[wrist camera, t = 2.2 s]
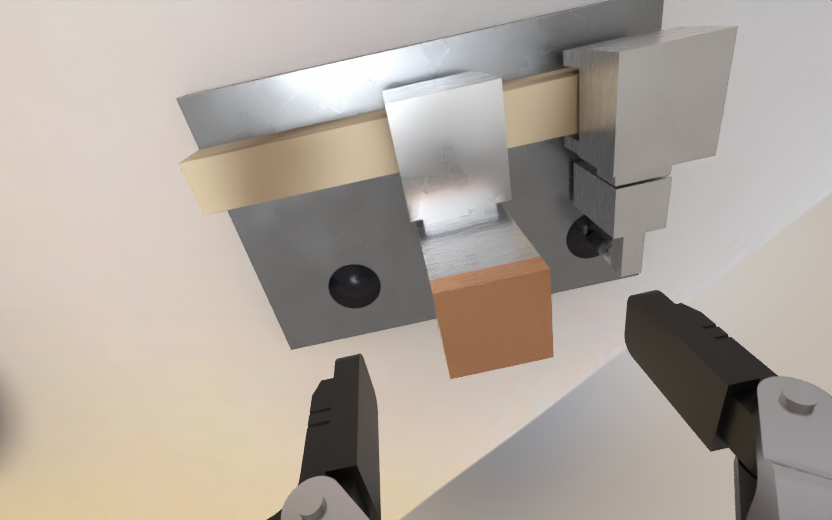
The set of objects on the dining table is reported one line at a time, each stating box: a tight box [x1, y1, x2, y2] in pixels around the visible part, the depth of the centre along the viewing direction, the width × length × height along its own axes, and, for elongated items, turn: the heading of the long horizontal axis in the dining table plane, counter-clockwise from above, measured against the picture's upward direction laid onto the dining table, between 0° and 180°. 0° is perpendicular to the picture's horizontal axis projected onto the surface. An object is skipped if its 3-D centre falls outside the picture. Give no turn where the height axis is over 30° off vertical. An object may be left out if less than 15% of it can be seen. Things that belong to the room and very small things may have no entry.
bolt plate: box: [176, 0, 664, 350], centre depth 22 cm, size 22×15×1 cm
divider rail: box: [179, 67, 579, 215], centre depth 19 cm, size 22×2×2 cm, turn 101°
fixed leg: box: [563, 26, 738, 277], centre depth 19 cm, size 4×11×5 cm, turn 11°
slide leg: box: [382, 71, 553, 379], centre depth 17 cm, size 4×11×10 cm, turn 11°
